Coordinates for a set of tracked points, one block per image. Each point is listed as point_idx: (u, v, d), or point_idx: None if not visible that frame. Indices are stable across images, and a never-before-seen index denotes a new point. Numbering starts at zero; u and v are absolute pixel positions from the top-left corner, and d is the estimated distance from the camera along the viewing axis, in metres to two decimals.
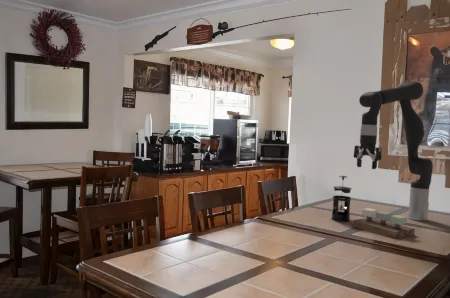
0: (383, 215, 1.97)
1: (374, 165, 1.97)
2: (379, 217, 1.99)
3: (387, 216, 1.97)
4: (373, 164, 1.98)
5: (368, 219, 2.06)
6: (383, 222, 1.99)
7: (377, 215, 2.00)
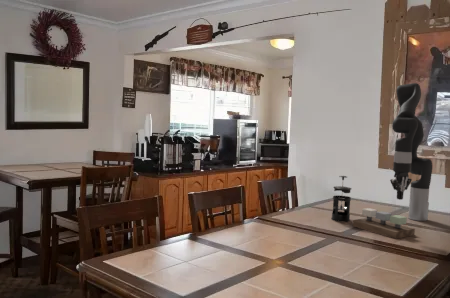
0: (383, 215, 1.97)
1: (402, 195, 1.92)
2: (379, 217, 1.99)
3: (387, 216, 1.97)
4: (402, 194, 1.92)
5: (368, 219, 2.06)
6: (383, 222, 1.99)
7: (377, 215, 2.00)
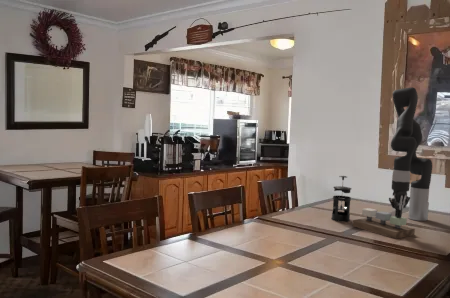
0: (383, 215, 1.97)
1: None
2: (379, 217, 1.99)
3: (387, 216, 1.97)
4: None
5: (368, 219, 2.06)
6: (383, 222, 1.99)
7: (377, 215, 2.00)
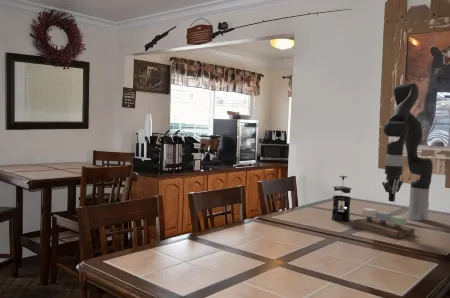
0: (383, 215, 1.97)
1: None
2: (379, 217, 1.99)
3: (387, 216, 1.97)
4: None
5: (368, 219, 2.06)
6: (383, 222, 1.99)
7: (377, 215, 2.00)
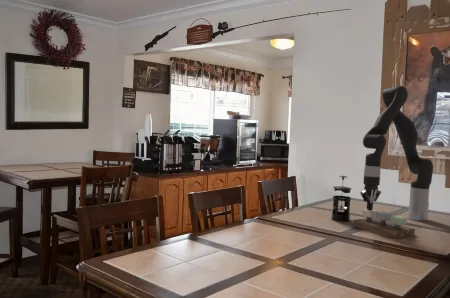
0: (383, 215, 1.97)
1: None
2: (379, 217, 1.99)
3: (387, 216, 1.97)
4: None
5: (368, 220, 2.06)
6: (383, 222, 1.99)
7: (377, 215, 2.00)
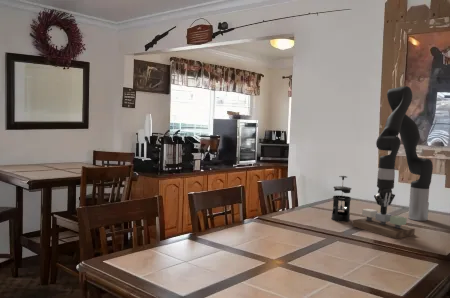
0: (383, 216, 1.97)
1: None
2: (379, 218, 1.99)
3: (387, 217, 1.97)
4: None
5: (368, 219, 2.06)
6: (383, 223, 1.99)
7: (377, 216, 2.00)
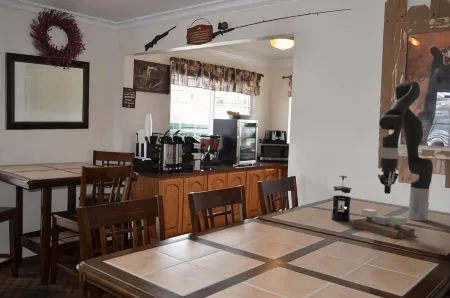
0: (383, 219, 1.97)
1: None
2: (379, 221, 1.99)
3: (387, 220, 1.98)
4: None
5: (368, 219, 2.06)
6: None
7: (377, 219, 2.00)
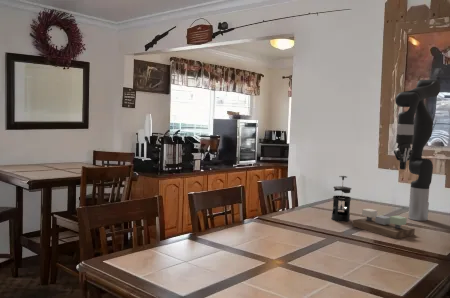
0: (383, 219, 1.97)
1: None
2: (379, 221, 1.99)
3: (387, 220, 1.98)
4: None
5: (368, 219, 2.06)
6: None
7: (377, 219, 2.00)
